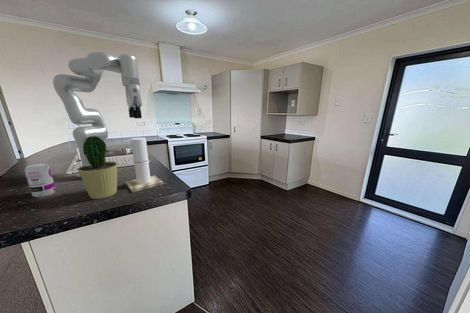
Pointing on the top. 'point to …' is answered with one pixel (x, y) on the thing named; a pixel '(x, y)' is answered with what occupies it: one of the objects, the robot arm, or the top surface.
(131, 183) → the birch board
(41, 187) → the supplement can
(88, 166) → the potted cactus
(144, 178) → the cylindrical container
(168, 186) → the top surface
